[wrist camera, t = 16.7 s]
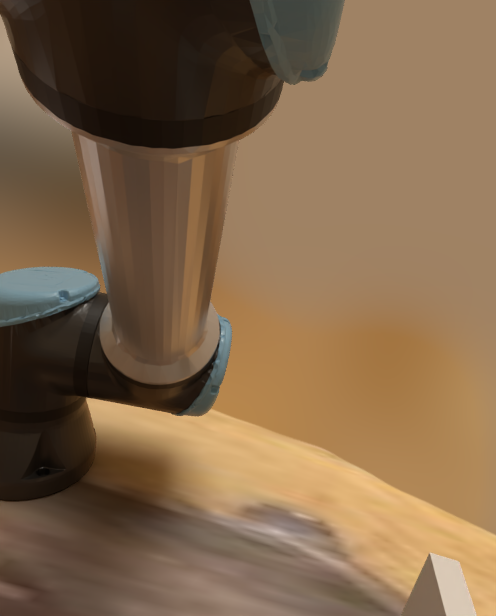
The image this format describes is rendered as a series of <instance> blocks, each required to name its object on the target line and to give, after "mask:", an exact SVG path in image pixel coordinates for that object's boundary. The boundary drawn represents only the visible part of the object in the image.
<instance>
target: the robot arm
mask: <svg viewBox="0 0 496 616" xmlns="http://www.w3.org/2000/svg"><path fill="white" fill-rule="evenodd" d="M344 1H345V0H0V15H1V17H2V19H3V22H4V25H5V28H6V31H7V35H8V38H9V41H10V43H11V46H12V50H13V53H14V56H15V59H16V63H17V66H18V70H19V73H20V76H21V79H22V81H23V83H24V85H25V88H26V90H27V91H28V93H29V94H30V96H31V97H32V98H33V100H34V101H35V102H36V104H37V105H38V106H39V107H40V108H41V109H42V110H43V111H44V112H45V113H47V114H48V115H49V116H50V117H52V118H53V119H54V120H56V121H57V122H59V123H60V124H61V125H63V126H64V127H66V128H68V129H69V130H71V132H72V137H73V141H74V146H75V150H76V155H77V159H78V164H79V169H80V172H81V178H82V182H83V187H84V191H85V196H86V200H87V205H88V210H89V214H90V219H91V223H92V228H93V232H94V237H95V241H96V246H97V251H98V255H99V259H100V264H101V269H102V273H103V278H104V282H105V287H106V291H107V294H105V293H101V292H99V291H100V284H99V282H98V279H97V278H96V276H95V275H93V274H91V273H87V272H86V271H83V270H79V269H73V268H65V267H33V268H25V269H18V270H13V271H9V272H5V273H2V274H0V499H3V500H25V499H33V498H38V497H43V496H47V495H50V494H53V493H56V492H58V491H60V490H63V489H65V488H67V487H68V486H70V485H72V484H73V483H75V482H76V481H78V480H79V479H80V478H81V477H82V476H83V475H84V474H85V473H86V472H87V471H88V469H89V468H90V466H91V465H92V463H93V460H94V456H95V448H96V433H95V429H94V427H93V423H92V419H91V415H90V411H89V408H88V405H87V401H86V397H87V398H94V399H99V400H104V401H110V402H115V403H120V404H126V405H131V406H136V407H142V408H147V409H152V410H157V411H163V412H168V413H171V414H173V415H176V416H183V415H188V416H202V415H204V414H206V413H207V412H208V411H209V410H210V409H211V408H212V406H213V404H214V402H215V400H216V398H217V396H218V393H219V388H220V387H219V386H220V385H221V383H222V381H223V378H224V375H225V371H226V367H227V363H228V358H229V353H230V347H231V340H232V328H231V325H230V322H229V320H227V319H226V318H224V317H221V316H219V315H218V314H217V313H216V311H215V309H214V307H213V305H212V303H211V302H210V299H211V293H212V288H213V282H214V276H215V270H216V265H217V259H218V253H219V248H220V243H221V237H222V231H223V226H224V220H225V214H226V209H227V203H228V198H229V192H230V187H231V181H232V176H233V170H234V164H235V159H236V153H237V148H238V142H239V140H241V139H243V138H244V137H246V136H248V135H249V134H251V133H252V132H254V131H255V130H257V129H258V128H259V127H260V126H261V125H262V124H264V122H265V121H266V120H267V119H268V118H269V117H270V116H271V114H272V113H273V111H274V109H275V108H276V106H277V103H278V100H279V97H280V94H281V91H282V86H283V83H284V81H285V82H286V83H289V84H293V85H295V84H297V83H299V82H300V81H308V82H309V81H316V80H317V79H319V78H320V77H322V76H323V74H324V73H325V72H326V70H327V64H328V61H329V59H330V56H331V53H332V49H333V47H334V44H335V41H336V37H337V33H338V28H339V24H340V19H341V14H342V10H343V6H344ZM401 616H477V615H476V611H475V608H474V605H473V602H472V599H471V596H470V593H469V590H468V587H467V584H466V581H465V578H464V575H463V572H462V569H461V566H460V563H459V561H456V560H453V559H449V558H446V557H443V556H440V555H436V554H433V553H429V555H428V557H427V560H426V562H425V564H424V566H423V568H422V570H421V573H420V575H419V577H418V579H417V581H416V583H415V586H414V588H413V590H412V592H411V594H410V596H409V599H408V601H407V603H406V605H405V607H404V609H403V612H402V614H401Z"/></svg>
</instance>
